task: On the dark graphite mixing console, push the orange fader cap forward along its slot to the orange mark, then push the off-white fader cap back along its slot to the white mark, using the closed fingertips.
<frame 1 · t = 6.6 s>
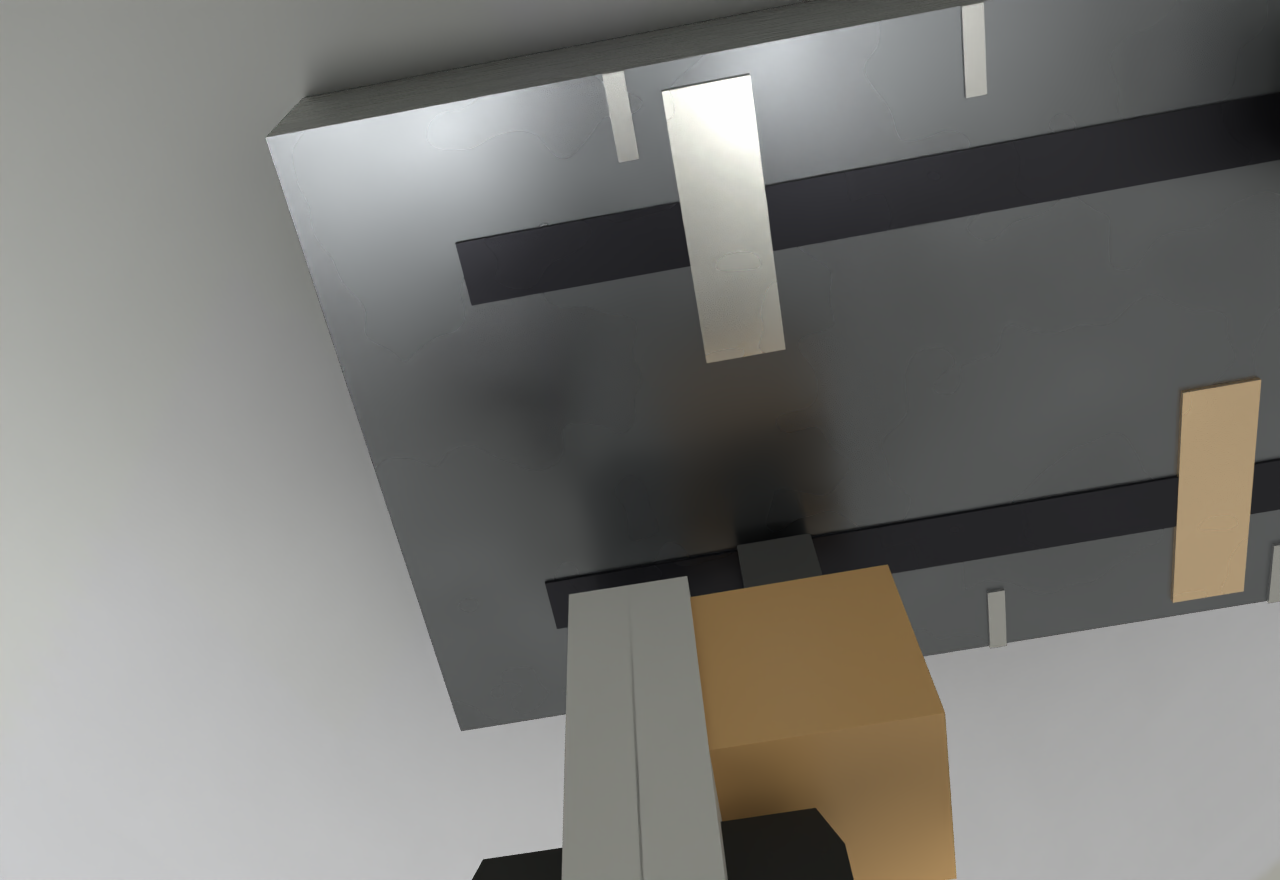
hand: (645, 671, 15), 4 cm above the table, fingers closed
fader a: (803, 679, 14), point 4 cm above the table, slide at -3.0 cm, touching gripper
console: (945, 309, 17), on the table
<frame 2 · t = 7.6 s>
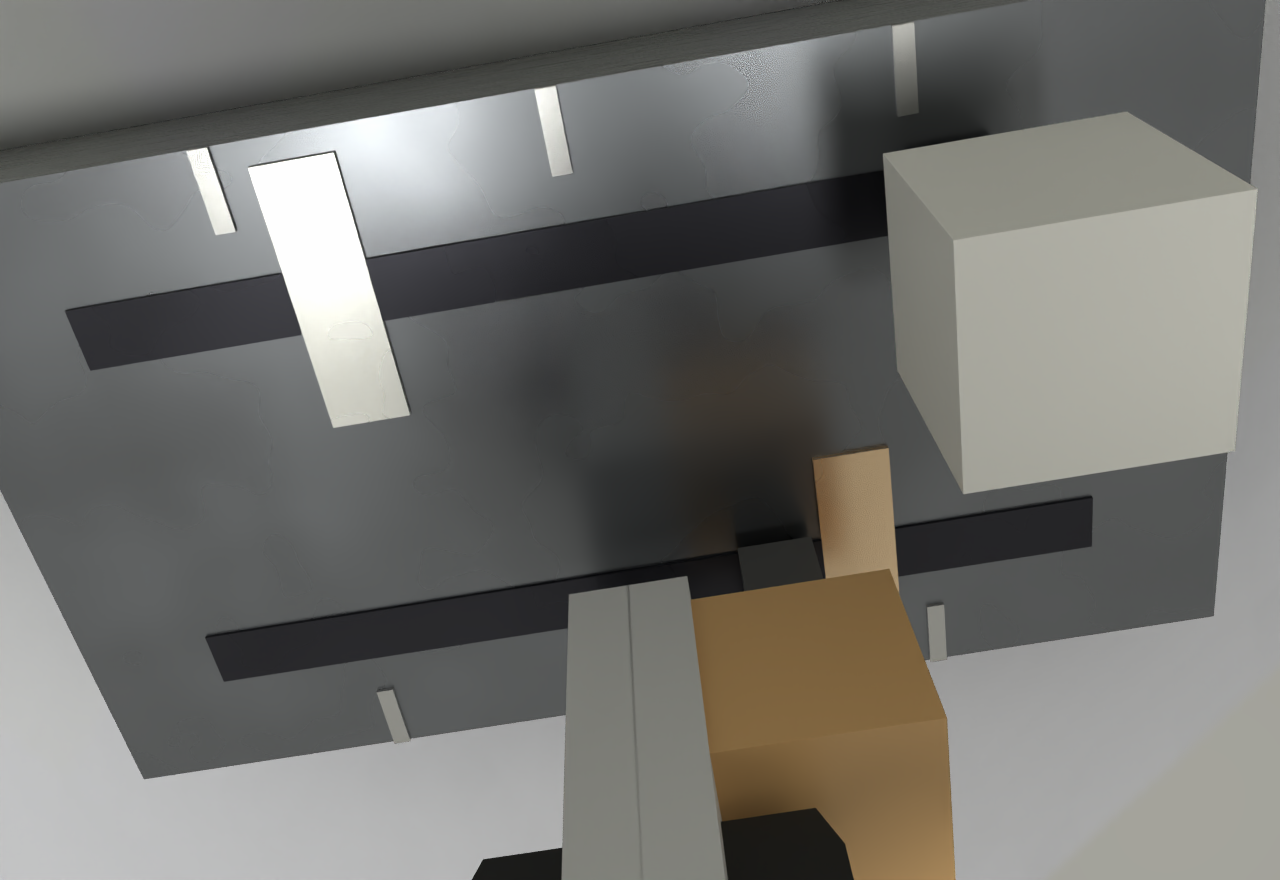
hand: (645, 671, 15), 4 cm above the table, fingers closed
fader a: (804, 683, 14), point 4 cm above the table, slide at 1.8 cm, touching gripper
fader b: (1018, 260, 12), point 4 cm above the table, slide at 4.5 cm
console: (612, 369, 17), on the table
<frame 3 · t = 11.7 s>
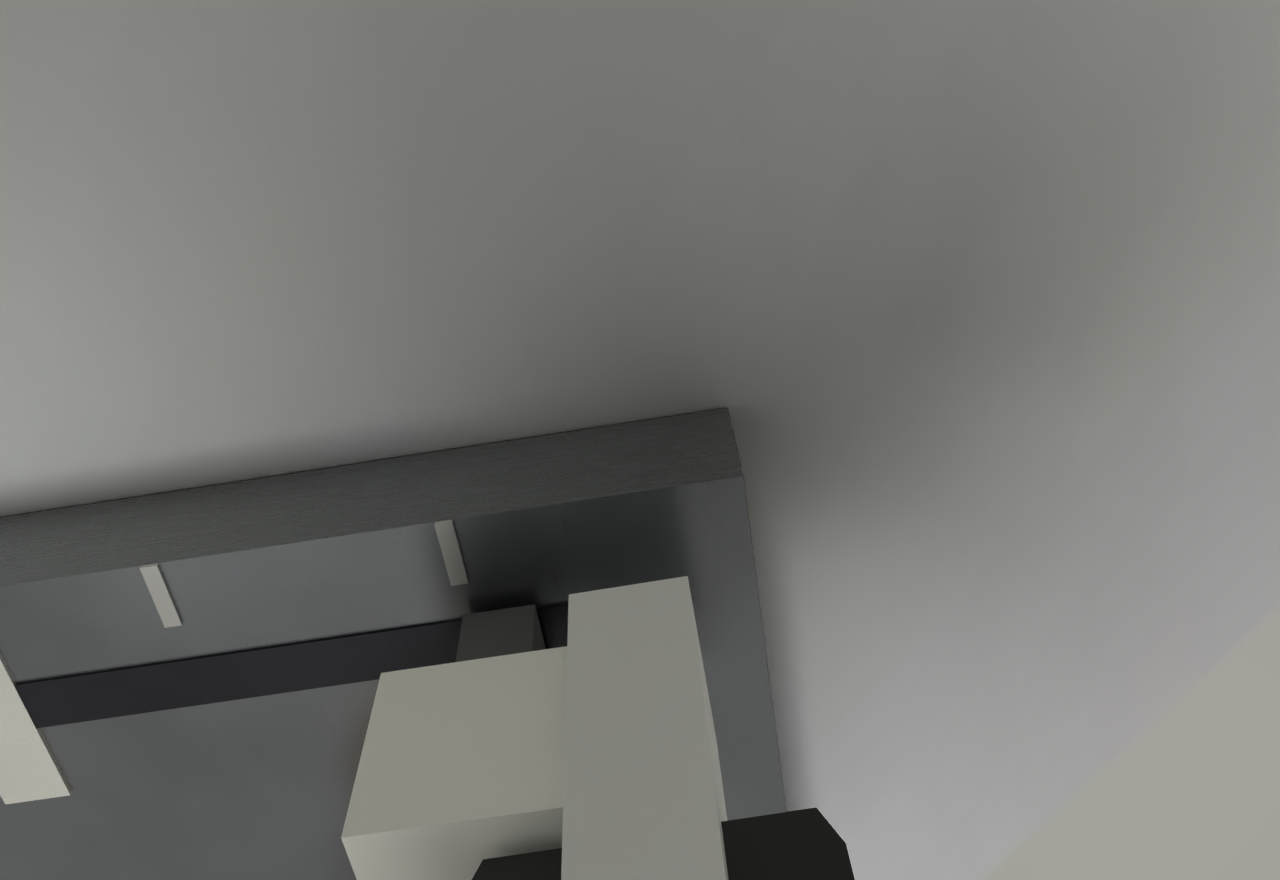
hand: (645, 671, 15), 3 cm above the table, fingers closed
fader b: (496, 756, 15), point 4 cm above the table, slide at 4.5 cm, touching gripper
console: (282, 718, 20), on the table
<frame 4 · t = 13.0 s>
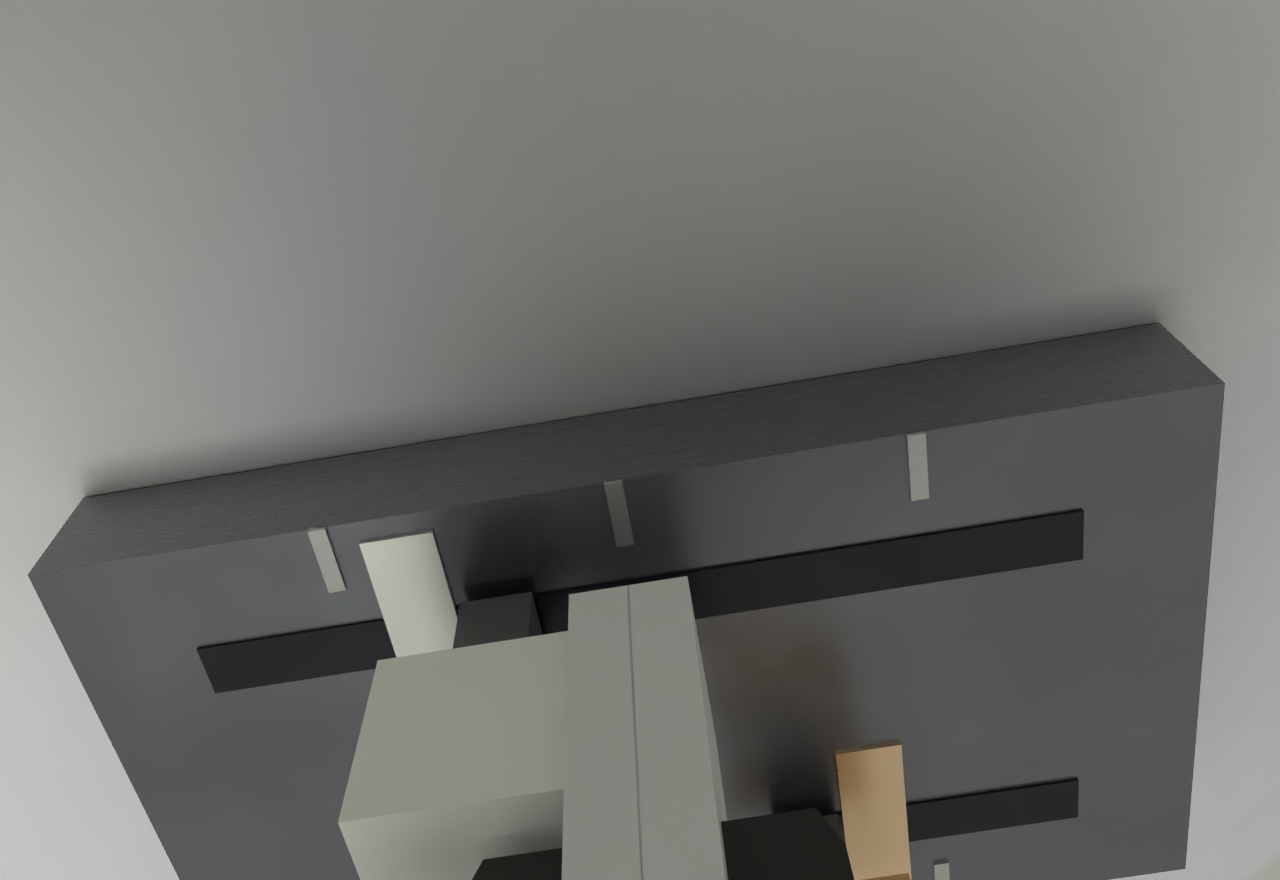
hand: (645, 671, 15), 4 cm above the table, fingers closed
fader b: (494, 742, 15), point 4 cm above the table, slide at -1.9 cm, touching gripper
console: (657, 652, 20), on the table
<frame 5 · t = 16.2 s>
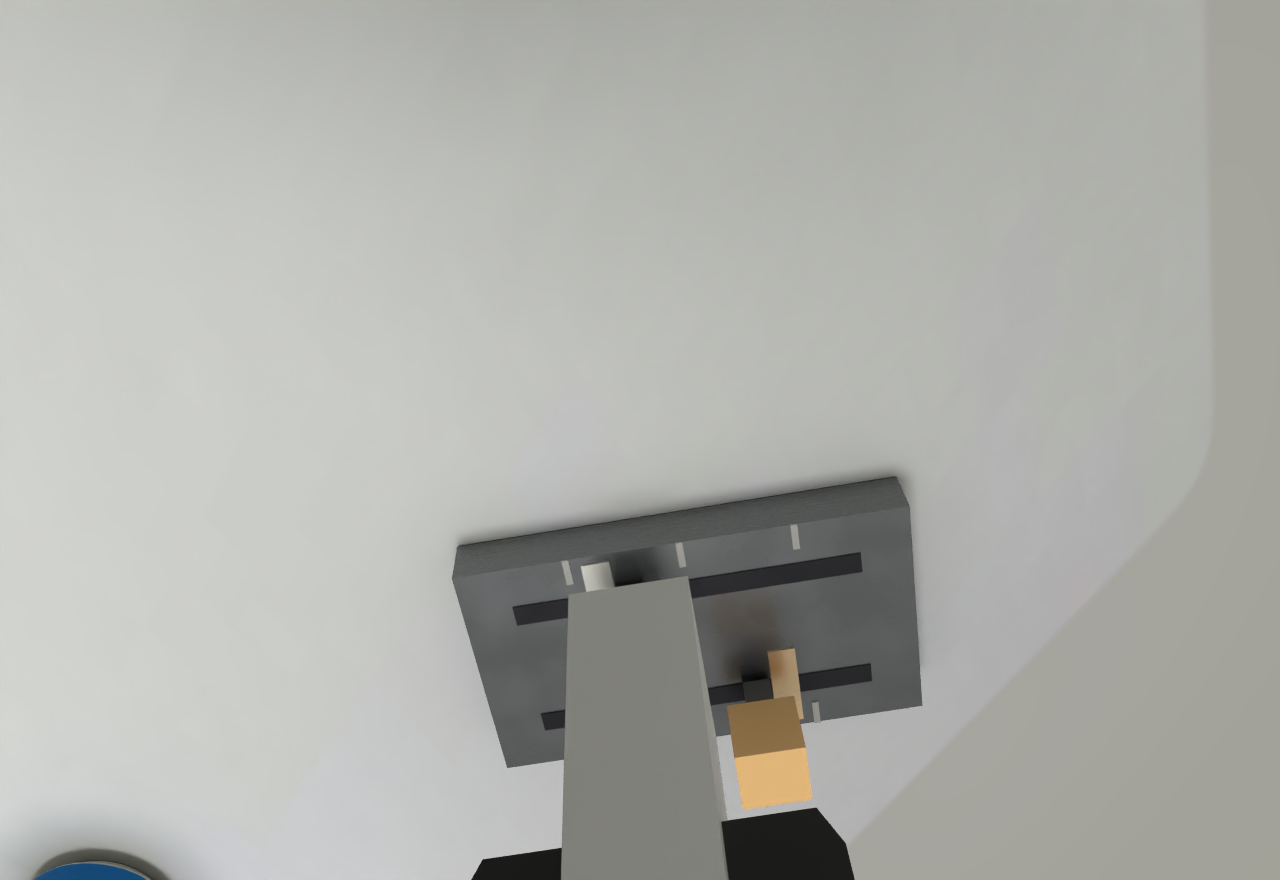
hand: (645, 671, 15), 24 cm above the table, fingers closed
fader a: (765, 733, 42), point 4 cm above the table, slide at 1.9 cm
console: (692, 611, 45), on the table
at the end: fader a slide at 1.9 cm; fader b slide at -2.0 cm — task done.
